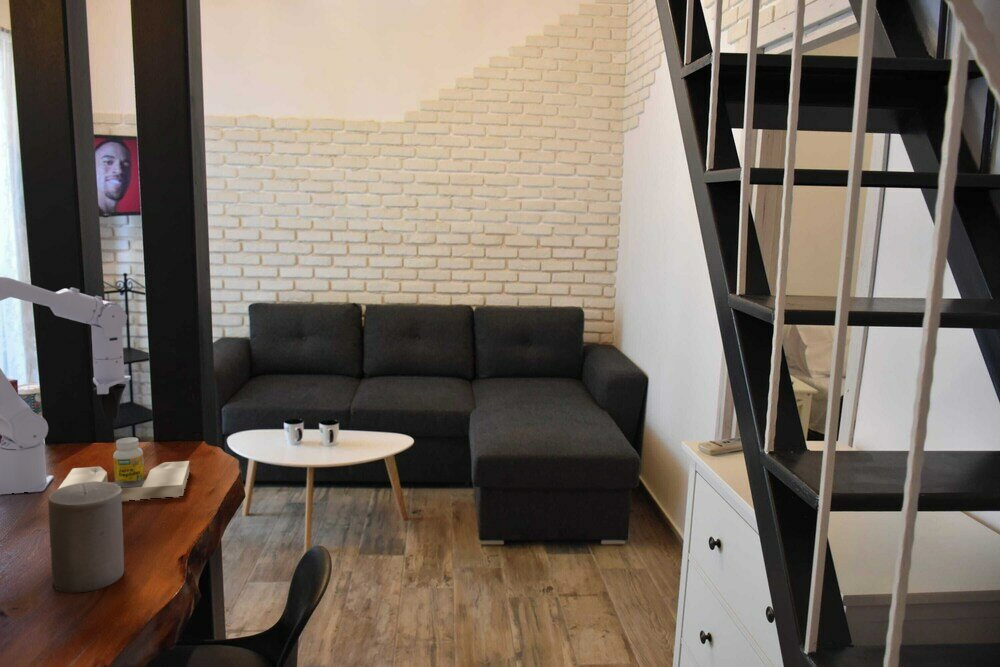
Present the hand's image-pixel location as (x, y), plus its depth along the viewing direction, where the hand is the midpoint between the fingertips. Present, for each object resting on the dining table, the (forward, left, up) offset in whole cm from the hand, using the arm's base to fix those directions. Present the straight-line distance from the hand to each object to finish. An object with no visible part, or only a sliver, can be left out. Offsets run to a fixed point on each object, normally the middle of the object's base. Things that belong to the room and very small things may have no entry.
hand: (111, 418), depth 156 cm
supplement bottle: (+5, -14, -11) cm, 18 cm away
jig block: (+5, -15, -10) cm, 19 cm away
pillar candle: (+6, -52, -11) cm, 53 cm away
